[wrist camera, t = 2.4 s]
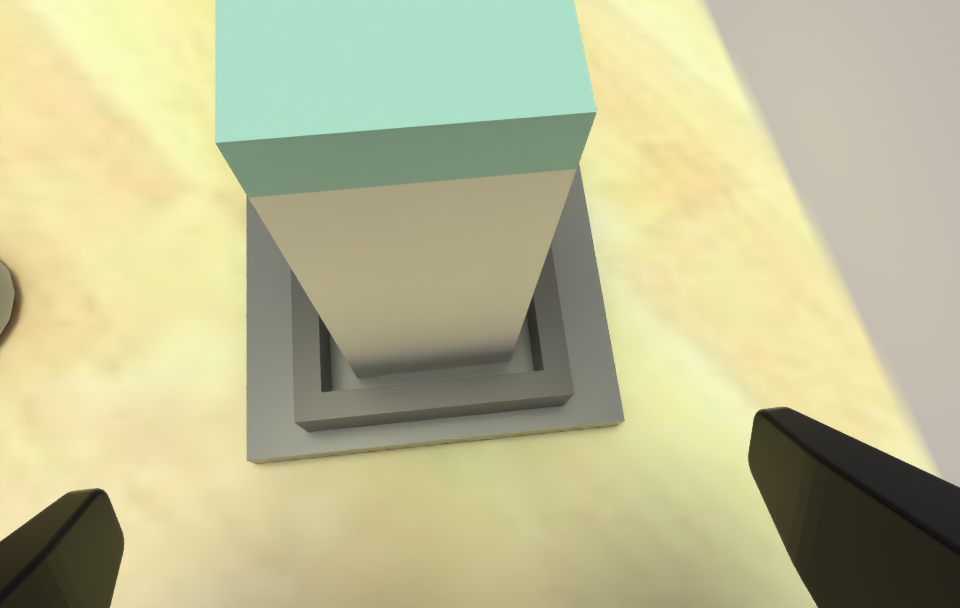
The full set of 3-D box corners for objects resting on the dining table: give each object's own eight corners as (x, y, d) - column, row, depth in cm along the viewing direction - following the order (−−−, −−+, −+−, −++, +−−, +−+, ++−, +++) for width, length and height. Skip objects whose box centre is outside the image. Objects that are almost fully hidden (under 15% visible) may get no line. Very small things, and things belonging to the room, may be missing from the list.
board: (617, 425, 23) (641, 409, 20) (255, 463, 22) (226, 453, 19) (536, -39, 29) (546, -101, 26) (253, -24, 28) (231, -86, 25)
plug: (509, 361, 22) (596, 111, 9) (357, 378, 22) (215, 142, 9) (490, 225, 24) (541, -159, 11) (348, 238, 23) (216, -144, 10)
